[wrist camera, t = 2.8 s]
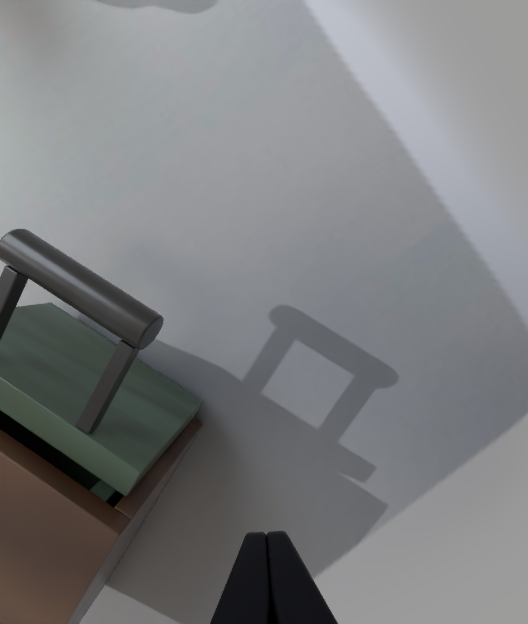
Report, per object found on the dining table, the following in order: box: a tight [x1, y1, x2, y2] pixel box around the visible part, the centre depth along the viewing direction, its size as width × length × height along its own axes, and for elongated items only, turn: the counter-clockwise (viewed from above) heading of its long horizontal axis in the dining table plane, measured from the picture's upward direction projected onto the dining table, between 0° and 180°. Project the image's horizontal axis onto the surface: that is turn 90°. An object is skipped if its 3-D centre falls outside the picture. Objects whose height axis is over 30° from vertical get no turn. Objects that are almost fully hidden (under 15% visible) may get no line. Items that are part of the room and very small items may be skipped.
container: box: [0, 229, 202, 508], centre depth 16 cm, size 18×10×7 cm, turn 149°
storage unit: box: [0, 419, 202, 624], centre depth 17 cm, size 14×12×9 cm
